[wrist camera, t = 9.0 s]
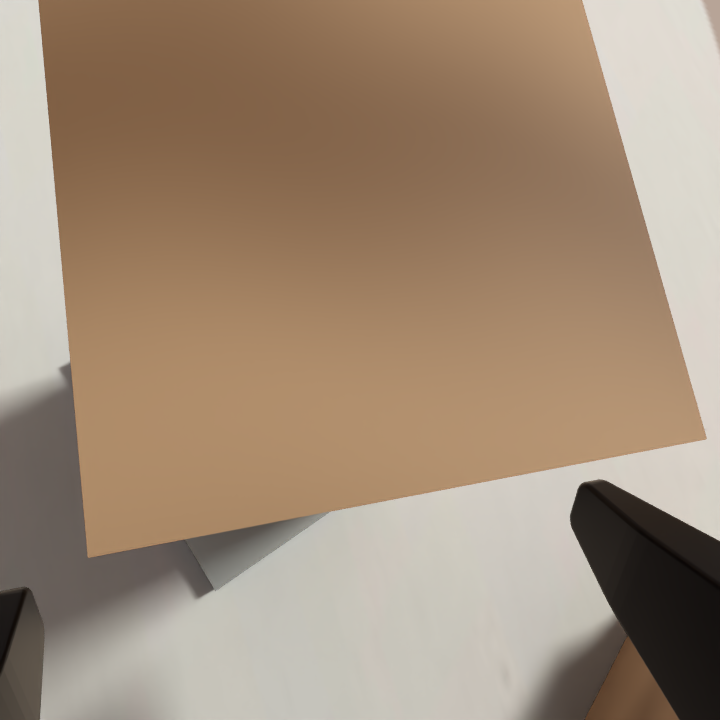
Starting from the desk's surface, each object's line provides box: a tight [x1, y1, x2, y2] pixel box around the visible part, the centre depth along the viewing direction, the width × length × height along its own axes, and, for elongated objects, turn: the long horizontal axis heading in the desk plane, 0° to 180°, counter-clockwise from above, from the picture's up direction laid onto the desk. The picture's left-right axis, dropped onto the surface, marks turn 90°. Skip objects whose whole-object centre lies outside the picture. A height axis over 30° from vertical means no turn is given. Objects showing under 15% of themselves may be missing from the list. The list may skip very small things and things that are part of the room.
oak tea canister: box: [39, 0, 707, 558], centre depth 13 cm, size 6×6×14 cm
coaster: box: [184, 511, 331, 591], centre depth 19 cm, size 8×8×1 cm
